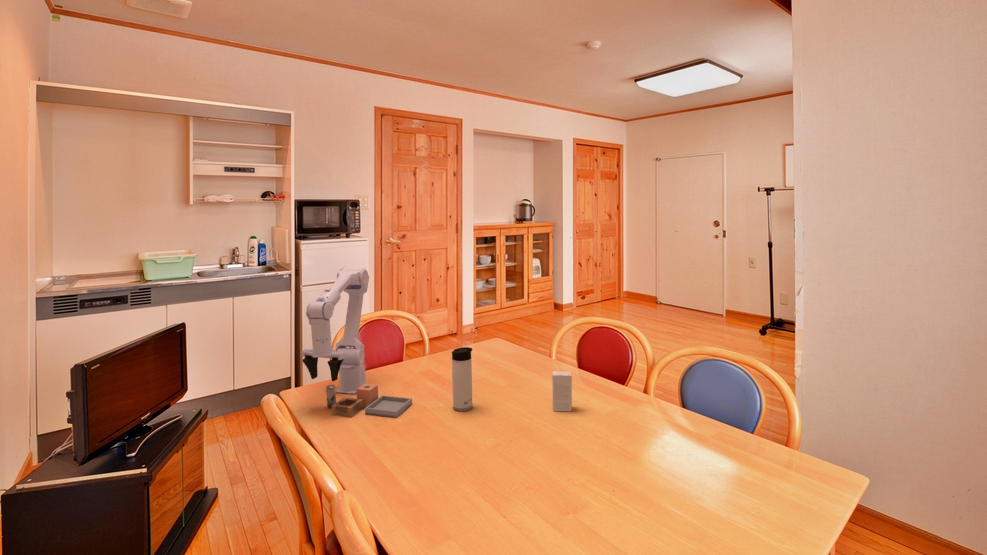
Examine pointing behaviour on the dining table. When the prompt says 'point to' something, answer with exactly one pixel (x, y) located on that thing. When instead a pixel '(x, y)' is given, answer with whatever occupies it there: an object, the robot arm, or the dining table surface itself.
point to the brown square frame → (347, 407)
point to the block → (367, 393)
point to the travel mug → (462, 379)
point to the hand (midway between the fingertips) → (324, 379)
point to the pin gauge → (330, 395)
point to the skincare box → (562, 390)
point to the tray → (388, 406)
